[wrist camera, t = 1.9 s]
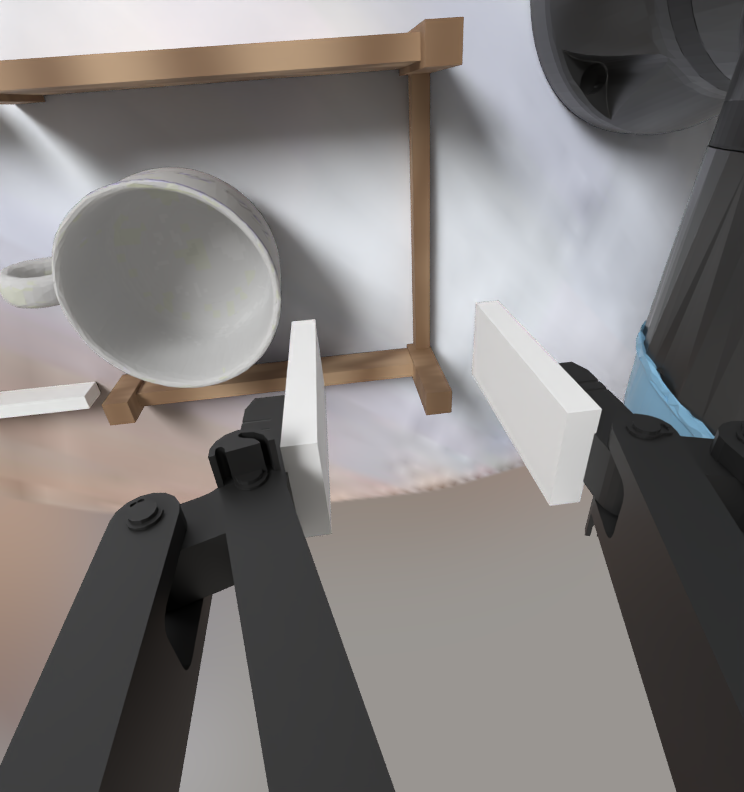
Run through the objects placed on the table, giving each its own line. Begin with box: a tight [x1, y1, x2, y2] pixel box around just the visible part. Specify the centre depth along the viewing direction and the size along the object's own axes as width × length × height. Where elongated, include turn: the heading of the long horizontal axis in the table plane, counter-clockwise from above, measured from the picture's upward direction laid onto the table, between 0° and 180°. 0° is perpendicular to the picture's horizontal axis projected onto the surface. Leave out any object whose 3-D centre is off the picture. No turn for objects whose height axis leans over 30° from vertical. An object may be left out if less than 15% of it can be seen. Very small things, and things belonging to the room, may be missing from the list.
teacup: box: [0, 167, 281, 388], centre depth 26 cm, size 14×11×8 cm
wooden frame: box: [0, 17, 464, 425], centre depth 27 cm, size 22×20×7 cm
